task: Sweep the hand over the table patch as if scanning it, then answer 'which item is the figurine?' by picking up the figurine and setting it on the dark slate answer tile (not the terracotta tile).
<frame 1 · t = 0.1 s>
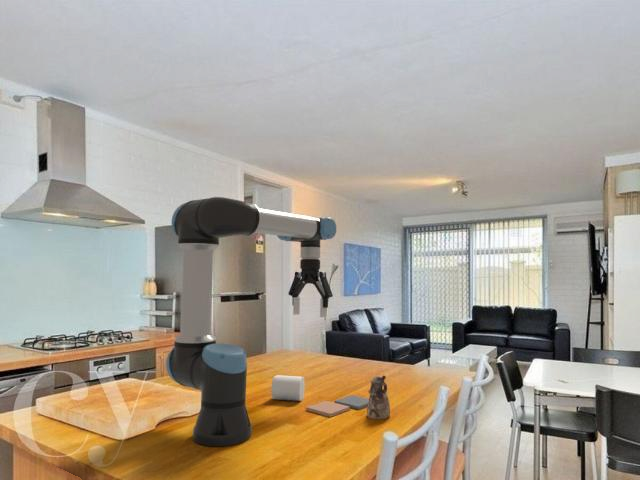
hand: (309, 315, 166), 28 cm above the counter, fingers open, 13 cm apart
slate tile: (355, 403, 150), on the counter
white rounded block: (289, 398, 156), on the counter
terracotta tile: (328, 410, 142), on the counter
figurine: (378, 416, 137), on the counter
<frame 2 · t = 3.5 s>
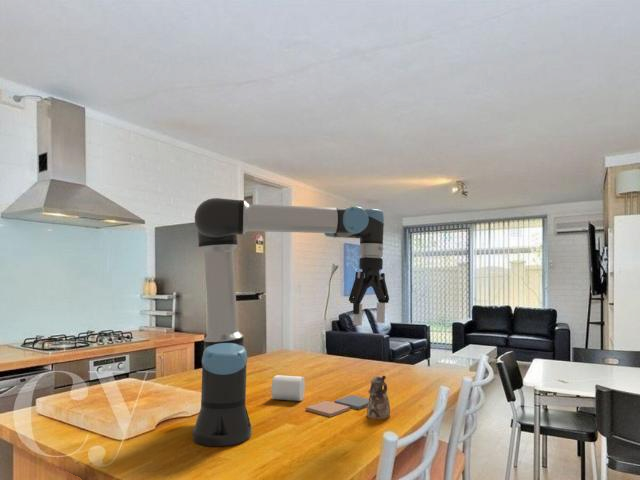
hand: (369, 324, 141), 28 cm above the counter, fingers open, 13 cm apart
nothing on the counter moved.
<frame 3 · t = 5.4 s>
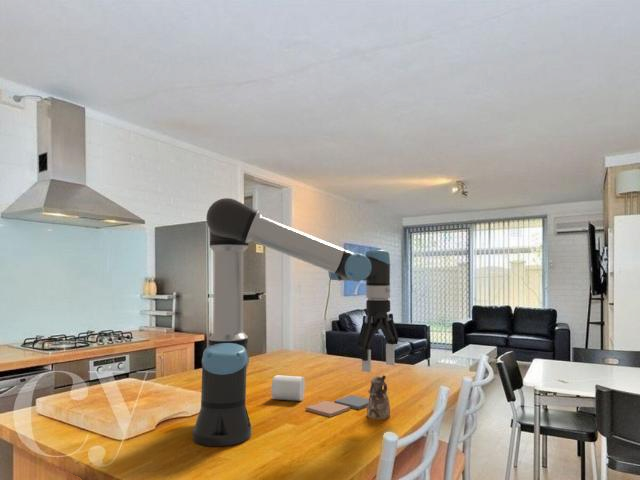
hand: (378, 368, 138), 14 cm above the counter, fingers open, 13 cm apart
nothing on the counter moved.
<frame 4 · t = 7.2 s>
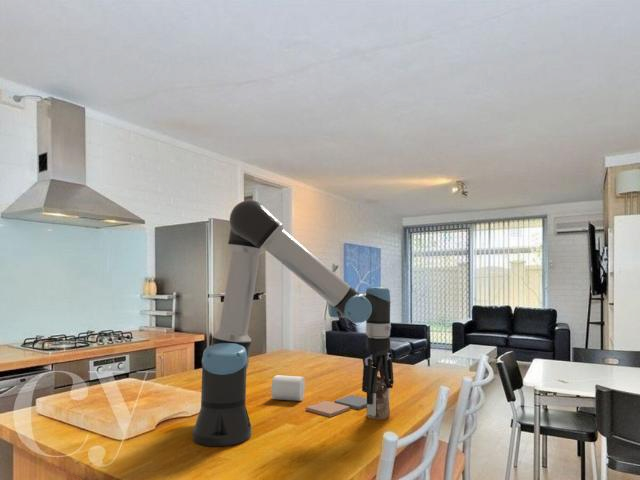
hand: (378, 411, 137), 1 cm above the counter, fingers closed on figurine, 7 cm apart
figurine: (378, 416, 137), on the counter, touching gripper
everything else where it was.
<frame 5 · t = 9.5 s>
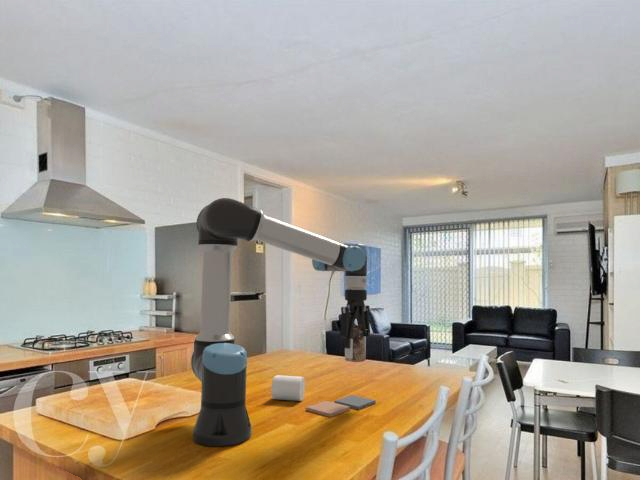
hand: (355, 356, 151), 16 cm above the counter, fingers closed on figurine, 7 cm apart
figurine: (355, 360, 151), point 14 cm above the counter, touching gripper
everything else where it was.
when the fingers open (3 cm above the counter, at t = 12.0 s): figurine drops 1 cm, resting on slate tile.
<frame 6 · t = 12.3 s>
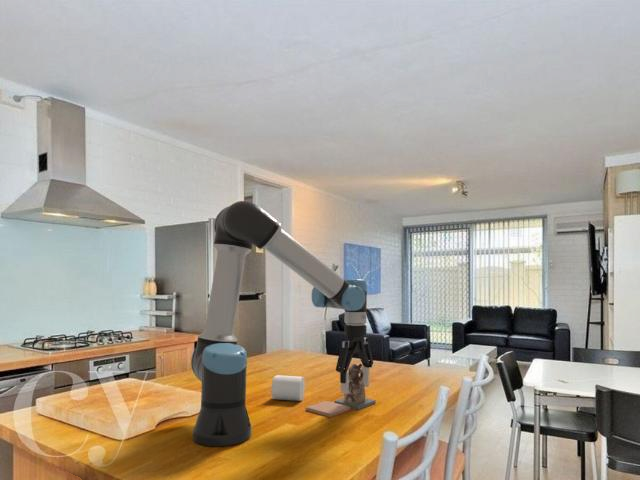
hand: (355, 389, 150), 5 cm above the counter, fingers open, 11 cm apart
figurine: (354, 400, 150), point 1 cm above the counter, touching slate tile
everything else where it was.
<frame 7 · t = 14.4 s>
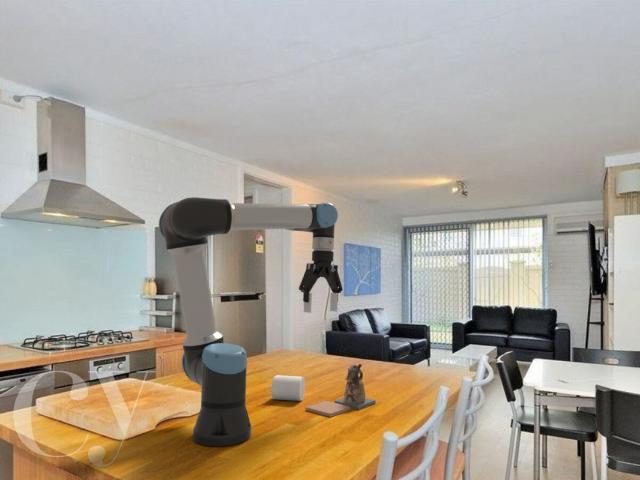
hand: (320, 311, 153), 30 cm above the counter, fingers open, 13 cm apart
nothing on the counter moved.
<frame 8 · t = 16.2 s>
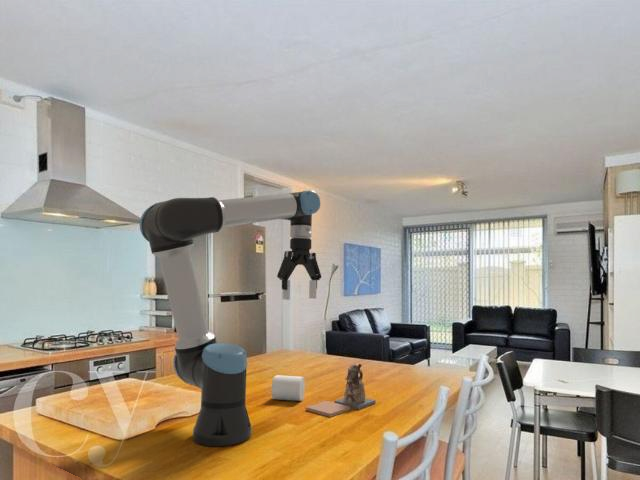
hand: (299, 299, 155), 35 cm above the counter, fingers open, 13 cm apart
nothing on the counter moved.
at the end: figurine 0.2 cm from the slate tile (horizontally); figurine touching slate tile; the gripper is holding nothing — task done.
